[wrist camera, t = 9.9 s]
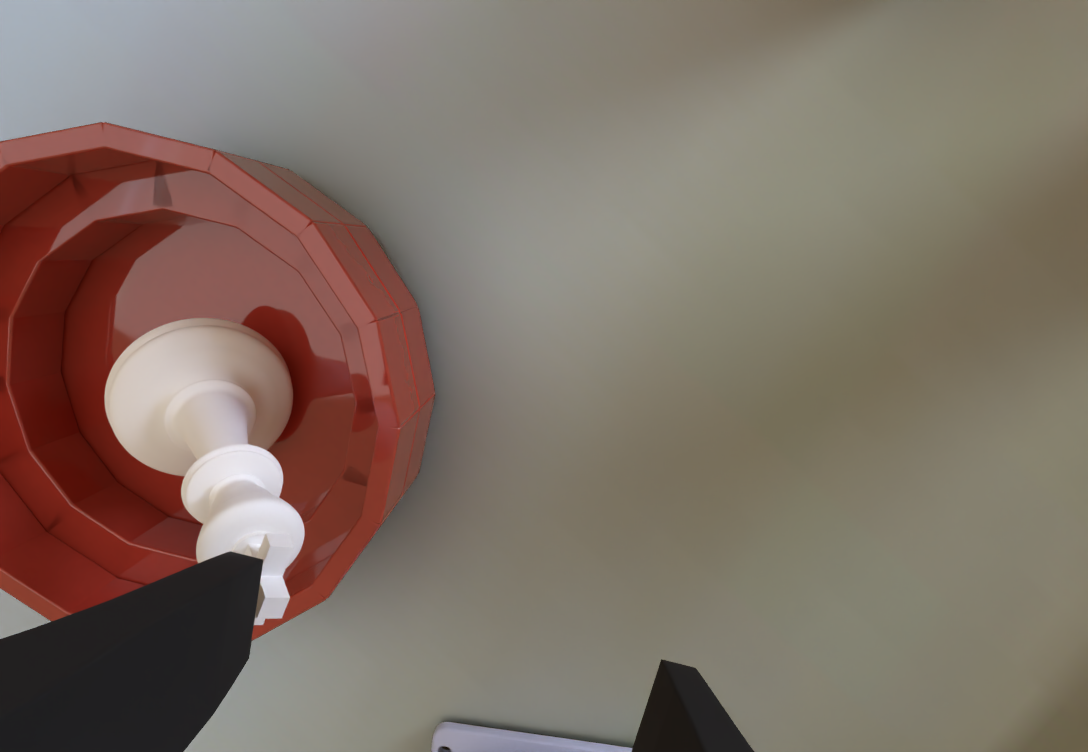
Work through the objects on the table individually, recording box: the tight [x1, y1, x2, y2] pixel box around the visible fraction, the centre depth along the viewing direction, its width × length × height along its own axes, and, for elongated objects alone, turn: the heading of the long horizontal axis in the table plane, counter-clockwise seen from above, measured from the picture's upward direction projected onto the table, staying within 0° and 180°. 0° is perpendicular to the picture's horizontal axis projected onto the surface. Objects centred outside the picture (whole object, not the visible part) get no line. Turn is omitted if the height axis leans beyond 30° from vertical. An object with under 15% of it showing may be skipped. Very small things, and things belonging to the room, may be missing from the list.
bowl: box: [0, 122, 435, 641], centre depth 18 cm, size 14×14×4 cm
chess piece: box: [104, 318, 305, 625], centre depth 15 cm, size 5×5×10 cm
